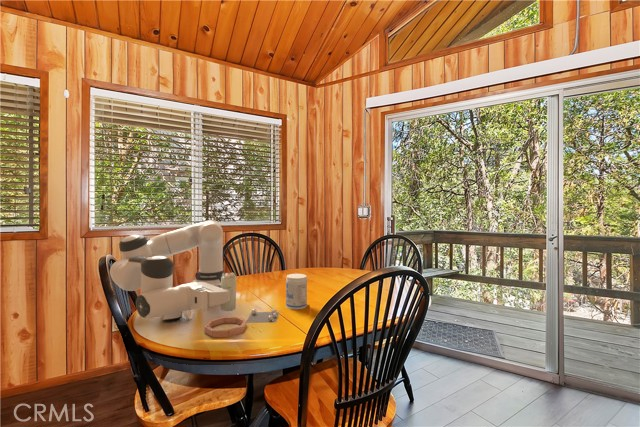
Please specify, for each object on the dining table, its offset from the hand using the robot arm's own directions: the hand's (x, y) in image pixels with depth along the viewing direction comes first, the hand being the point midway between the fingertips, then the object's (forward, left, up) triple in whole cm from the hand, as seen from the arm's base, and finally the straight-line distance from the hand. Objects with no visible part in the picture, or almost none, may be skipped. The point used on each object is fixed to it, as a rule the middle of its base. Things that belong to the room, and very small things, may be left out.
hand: (227, 288), depth 119 cm
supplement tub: (+24, +25, -16) cm, 39 cm away
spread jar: (-24, +12, -16) cm, 32 cm away
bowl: (-1, -1, -16) cm, 16 cm away
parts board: (+11, +11, -16) cm, 23 cm away
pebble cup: (0, +1, -8) cm, 8 cm away
